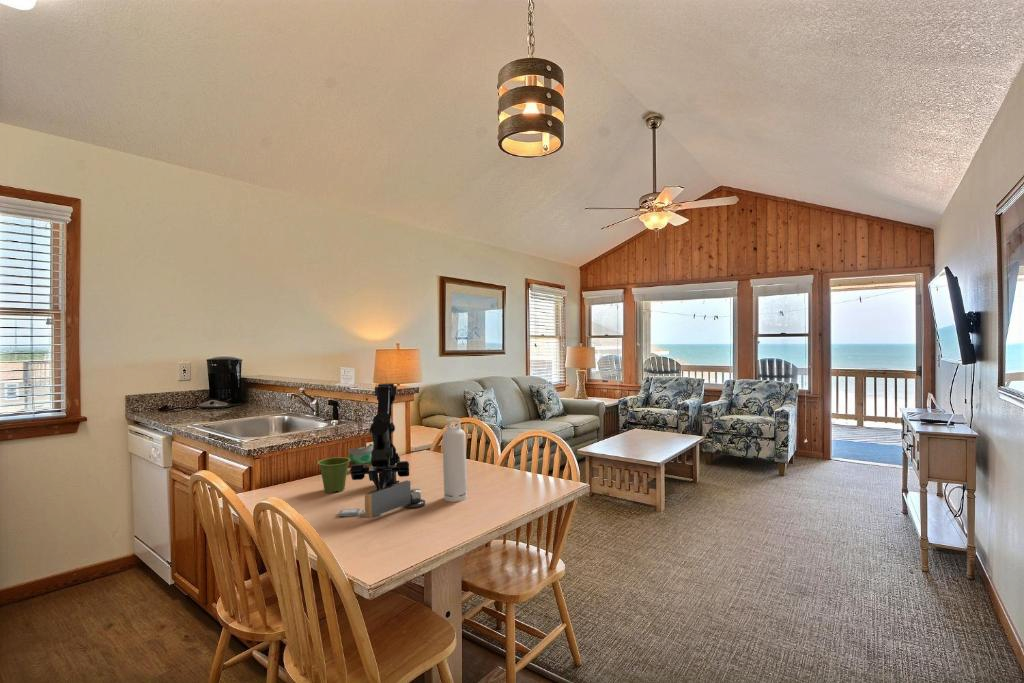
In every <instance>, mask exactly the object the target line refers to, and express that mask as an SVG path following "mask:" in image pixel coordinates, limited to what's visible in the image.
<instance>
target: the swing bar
mask: <svg viewBox="0 0 1024 683" xmlns="http://www.w3.org/2000/svg"><path fill="white" fill-rule="evenodd" d="M421 497H422V496H421V489H419V488H411V480H407V479H406V480H403V481H399V482H398V483H396V484H393V485H390V486H385V487H384V488H381V489H378V490H377V489H375V490H372V491H368V492H365V493H364V510H365V517H364V518H367V519H372V518H374V517H376V516H377V515H378V516H381V515H382V514H384V513H388V512H391V511H393V510H395V509H399V508H402V507H405V505H407V504H410V503H418V502H420V501H421V499H422V498H421Z"/></svg>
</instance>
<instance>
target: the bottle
mask: <svg viewBox="0 0 1024 683" xmlns="http://www.w3.org/2000/svg"><path fill="white" fill-rule="evenodd" d="M451 423H452V425H451ZM456 423H457V425H456ZM461 428H462V426H461V418H457V417H456V418H454V417H453V418H447V419H446V429H445V430H444V431H443V433H442V460H443V461H442V463H443V464H442V465H443V468H442V469H443V470H442V471H443V493H444V494H443V500H445V501H446V502H454V503H456V502H462V501H463V502H464V500H466V499H467V498H468V492H467V490H468V484H467V483H468V482H467V449H466V448H467V445H466V444H467V443H466V439H467V438H466V436H467V435H466V432H465V430H464V429H461Z"/></svg>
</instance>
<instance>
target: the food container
mask: <svg viewBox="0 0 1024 683" xmlns="http://www.w3.org/2000/svg"><path fill="white" fill-rule="evenodd" d="M372 450H373V443H369V445H367V446H359V447H358V448H349V449H348V455H349V459H350V467H351V466H352V465H355V464H363V465H364V468H369V467H371V466H372V465H371V452H372Z"/></svg>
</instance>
